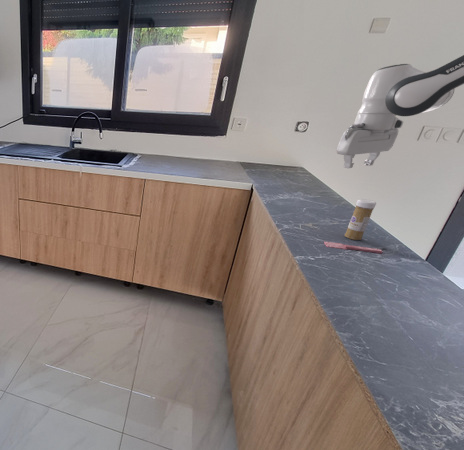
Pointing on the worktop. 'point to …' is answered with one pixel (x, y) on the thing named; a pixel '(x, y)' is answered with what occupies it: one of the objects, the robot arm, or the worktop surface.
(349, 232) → the sprinkles bottle
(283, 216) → the worktop surface
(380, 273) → the worktop surface
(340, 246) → the spatula
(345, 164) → the robot arm
